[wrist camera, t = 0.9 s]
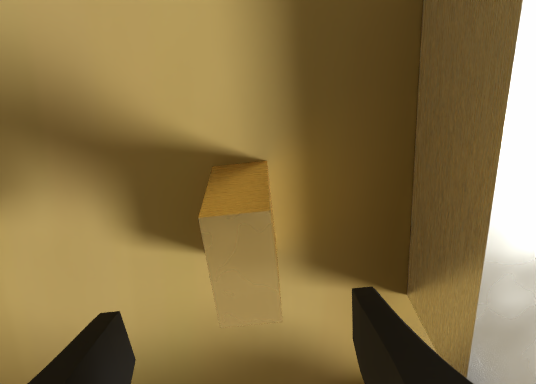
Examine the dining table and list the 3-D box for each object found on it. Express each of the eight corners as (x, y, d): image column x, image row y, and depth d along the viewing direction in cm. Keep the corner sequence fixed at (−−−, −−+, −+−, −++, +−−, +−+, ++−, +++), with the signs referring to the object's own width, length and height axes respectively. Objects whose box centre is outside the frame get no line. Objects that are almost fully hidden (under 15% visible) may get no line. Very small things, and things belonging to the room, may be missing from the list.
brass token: (276, 252, 20) (282, 322, 16) (228, 257, 20) (219, 328, 16) (266, 160, 18) (269, 210, 14) (212, 166, 18) (198, 217, 14)
